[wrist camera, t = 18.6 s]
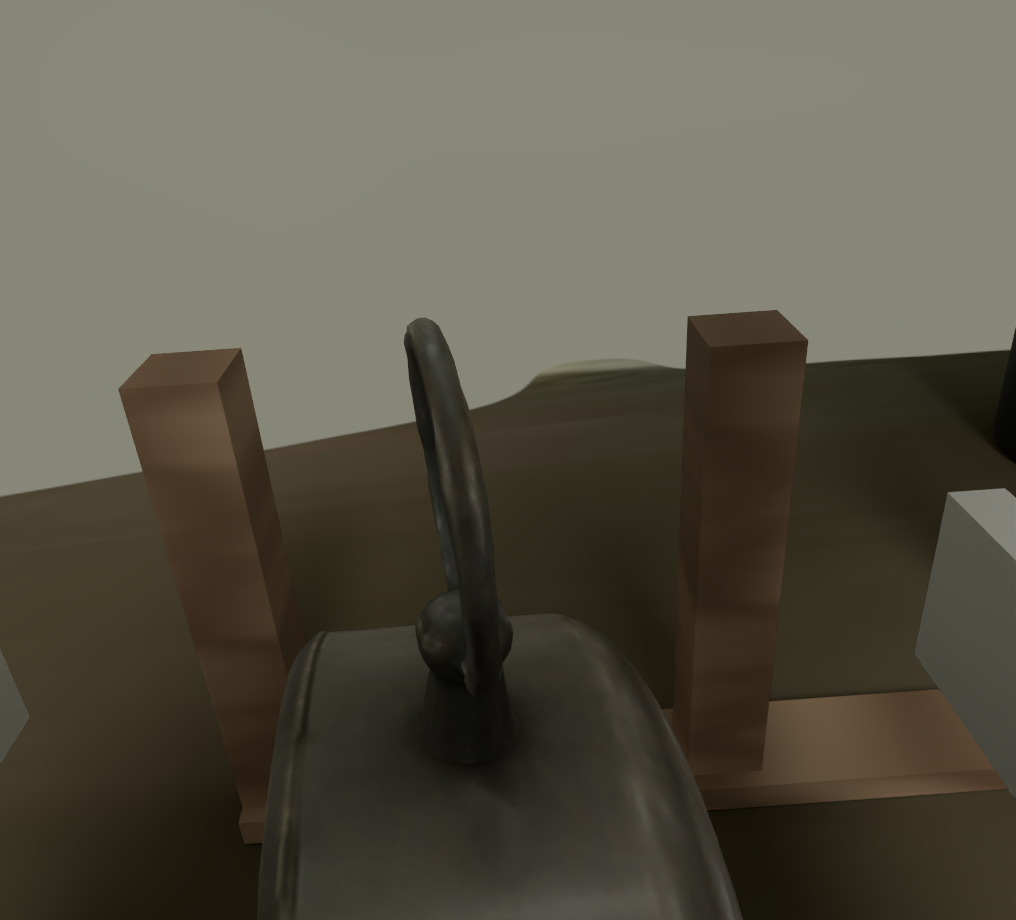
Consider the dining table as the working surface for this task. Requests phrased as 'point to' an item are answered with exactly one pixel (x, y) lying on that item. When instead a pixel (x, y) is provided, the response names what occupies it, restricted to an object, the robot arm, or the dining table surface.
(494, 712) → the alarm clock
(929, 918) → the dining table surface
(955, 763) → the slalom posts
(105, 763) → the dining table surface
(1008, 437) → the mug
